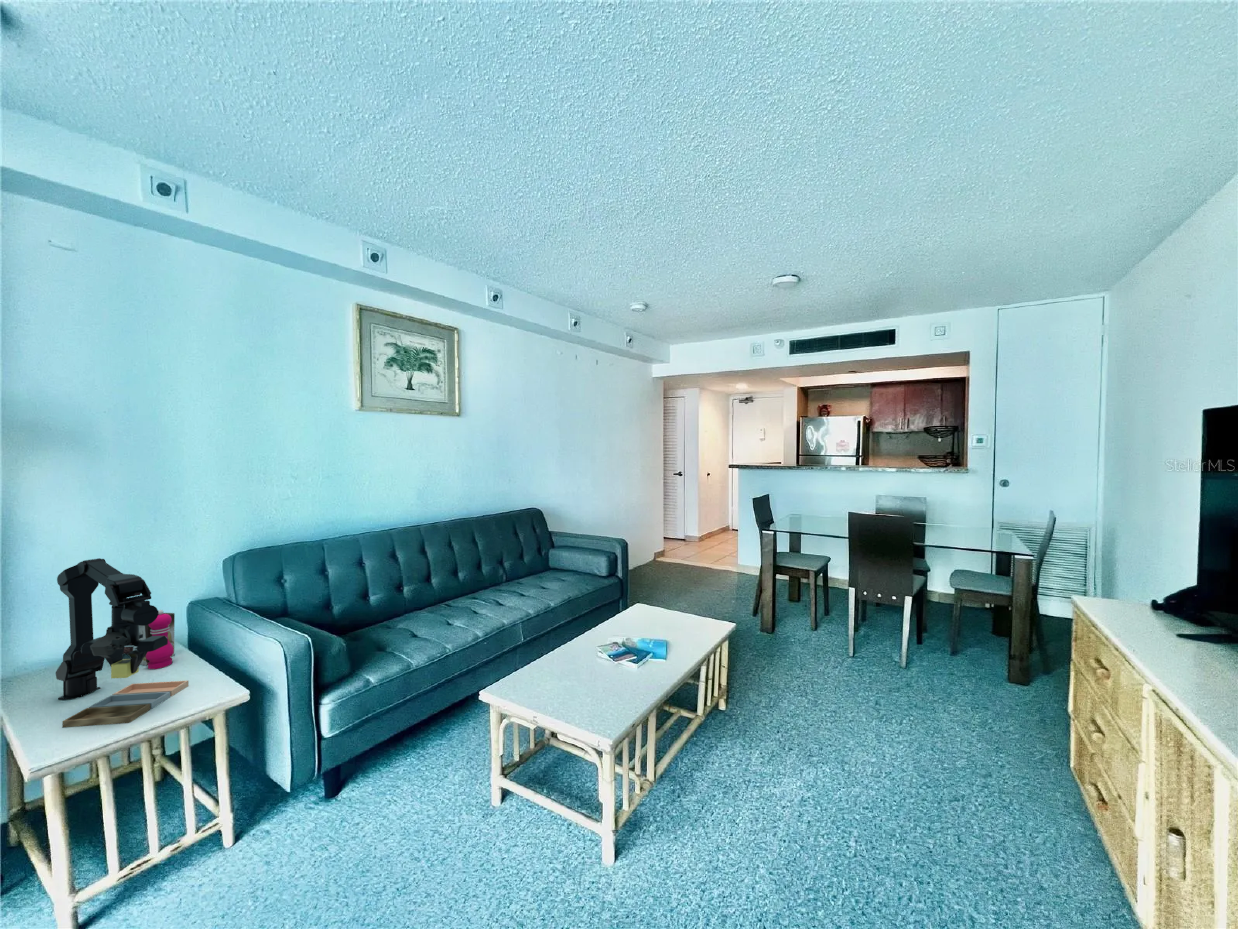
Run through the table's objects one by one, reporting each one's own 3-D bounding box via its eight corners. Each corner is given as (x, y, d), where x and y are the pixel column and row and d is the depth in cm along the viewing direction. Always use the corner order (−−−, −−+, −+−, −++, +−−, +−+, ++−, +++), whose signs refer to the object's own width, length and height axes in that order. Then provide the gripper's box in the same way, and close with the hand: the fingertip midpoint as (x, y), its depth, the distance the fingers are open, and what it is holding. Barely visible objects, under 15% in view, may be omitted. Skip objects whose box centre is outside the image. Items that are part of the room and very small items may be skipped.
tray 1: (62, 729, 129) (62, 721, 129) (87, 715, 136) (86, 708, 136) (129, 724, 132) (129, 716, 132) (150, 711, 139) (150, 704, 139)
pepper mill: (146, 672, 164) (146, 614, 164) (145, 665, 169) (145, 610, 169) (175, 665, 170) (174, 609, 170) (172, 659, 175) (172, 605, 175)
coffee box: (147, 665, 170) (146, 620, 169) (133, 664, 171) (133, 619, 171) (175, 655, 178) (175, 612, 178) (162, 654, 180) (162, 611, 180)
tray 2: (88, 714, 137) (88, 707, 137) (110, 702, 144) (110, 695, 144) (151, 710, 139) (151, 703, 139) (170, 698, 146) (170, 691, 146)
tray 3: (112, 701, 144) (112, 694, 144) (132, 690, 151) (132, 683, 151) (171, 698, 147) (171, 690, 147) (188, 687, 154) (188, 680, 154)
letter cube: (111, 678, 138) (111, 664, 138) (123, 672, 142) (123, 658, 142) (126, 678, 138) (126, 664, 138) (138, 671, 142) (138, 658, 142)
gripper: (61, 631, 131) (60, 687, 131) (136, 629, 133) (136, 685, 133) (100, 617, 142) (99, 669, 142) (169, 616, 144) (168, 667, 144)
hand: (125, 673), depth 140 cm, fingers closed on letter cube, 4 cm apart
